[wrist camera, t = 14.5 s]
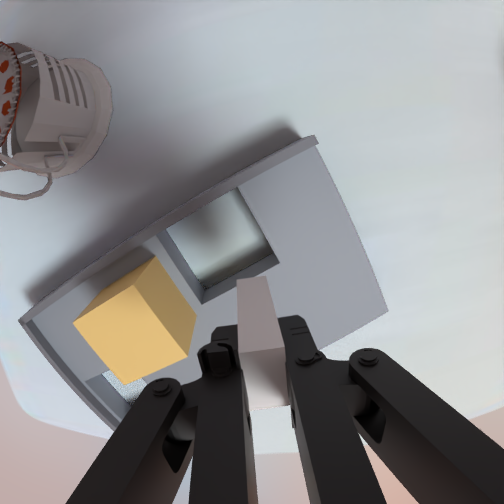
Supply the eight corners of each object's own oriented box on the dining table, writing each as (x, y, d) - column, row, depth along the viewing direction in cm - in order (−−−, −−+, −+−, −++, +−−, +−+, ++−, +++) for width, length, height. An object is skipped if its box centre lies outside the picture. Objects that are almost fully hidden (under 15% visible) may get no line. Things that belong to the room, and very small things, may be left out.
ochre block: (102, 289, 21) (72, 322, 16) (155, 255, 20) (133, 284, 15) (142, 343, 22) (124, 385, 17) (196, 315, 21) (187, 356, 17)
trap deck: (37, 302, 23) (17, 320, 20) (301, 138, 21) (314, 134, 17) (128, 412, 27) (120, 436, 24) (376, 297, 25) (393, 317, 21)
